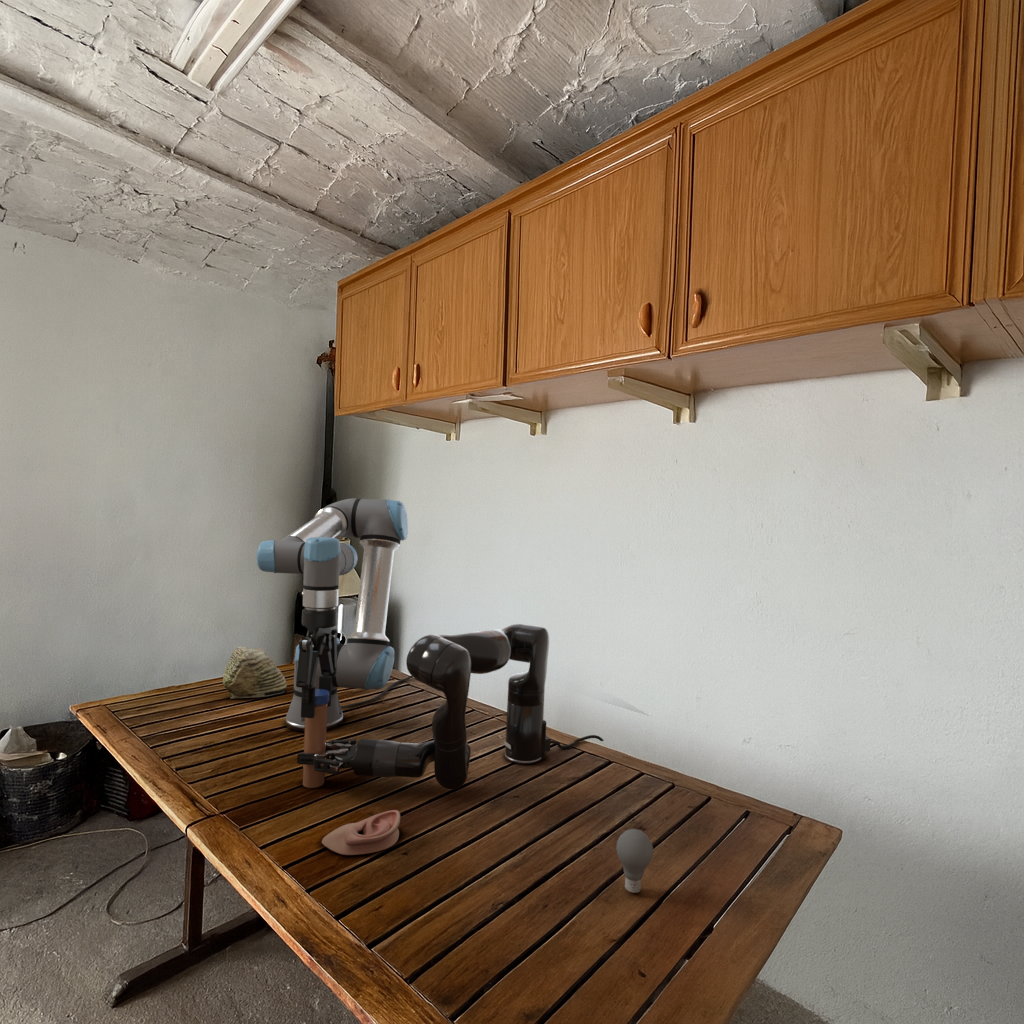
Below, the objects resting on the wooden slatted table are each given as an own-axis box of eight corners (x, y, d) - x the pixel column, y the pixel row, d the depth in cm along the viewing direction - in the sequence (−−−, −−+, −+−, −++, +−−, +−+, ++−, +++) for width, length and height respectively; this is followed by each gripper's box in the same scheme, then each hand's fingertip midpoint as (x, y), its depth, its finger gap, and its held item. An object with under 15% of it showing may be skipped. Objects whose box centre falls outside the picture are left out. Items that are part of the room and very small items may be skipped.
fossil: (218, 695, 195) (220, 647, 195) (278, 685, 208) (279, 640, 207) (228, 703, 189) (230, 653, 188) (289, 692, 201) (290, 645, 201)
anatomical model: (313, 828, 113) (343, 799, 125) (313, 850, 113) (342, 819, 125) (383, 839, 111) (407, 808, 122) (382, 862, 111) (406, 829, 122)
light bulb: (610, 879, 108) (613, 822, 108) (644, 879, 109) (647, 822, 109) (619, 902, 102) (622, 840, 102) (655, 901, 103) (658, 840, 103)
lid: (334, 701, 140) (334, 692, 140) (312, 707, 136) (313, 698, 136) (320, 696, 143) (320, 687, 143) (299, 701, 139) (299, 692, 139)
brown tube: (298, 783, 140) (301, 695, 139) (317, 776, 143) (320, 691, 143) (309, 790, 137) (313, 700, 136) (328, 783, 140) (331, 696, 140)
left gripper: (325, 599, 150) (321, 696, 150) (280, 614, 130) (276, 725, 130) (355, 602, 148) (351, 699, 149) (314, 617, 129) (310, 728, 129)
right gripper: (387, 729, 146) (314, 725, 147) (370, 754, 132) (290, 749, 133) (385, 761, 146) (313, 757, 147) (369, 789, 132) (288, 784, 133)
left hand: (316, 711), depth 140 cm, fingers open, 7 cm apart
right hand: (302, 753), depth 140 cm, fingers closed on brown tube, 4 cm apart
